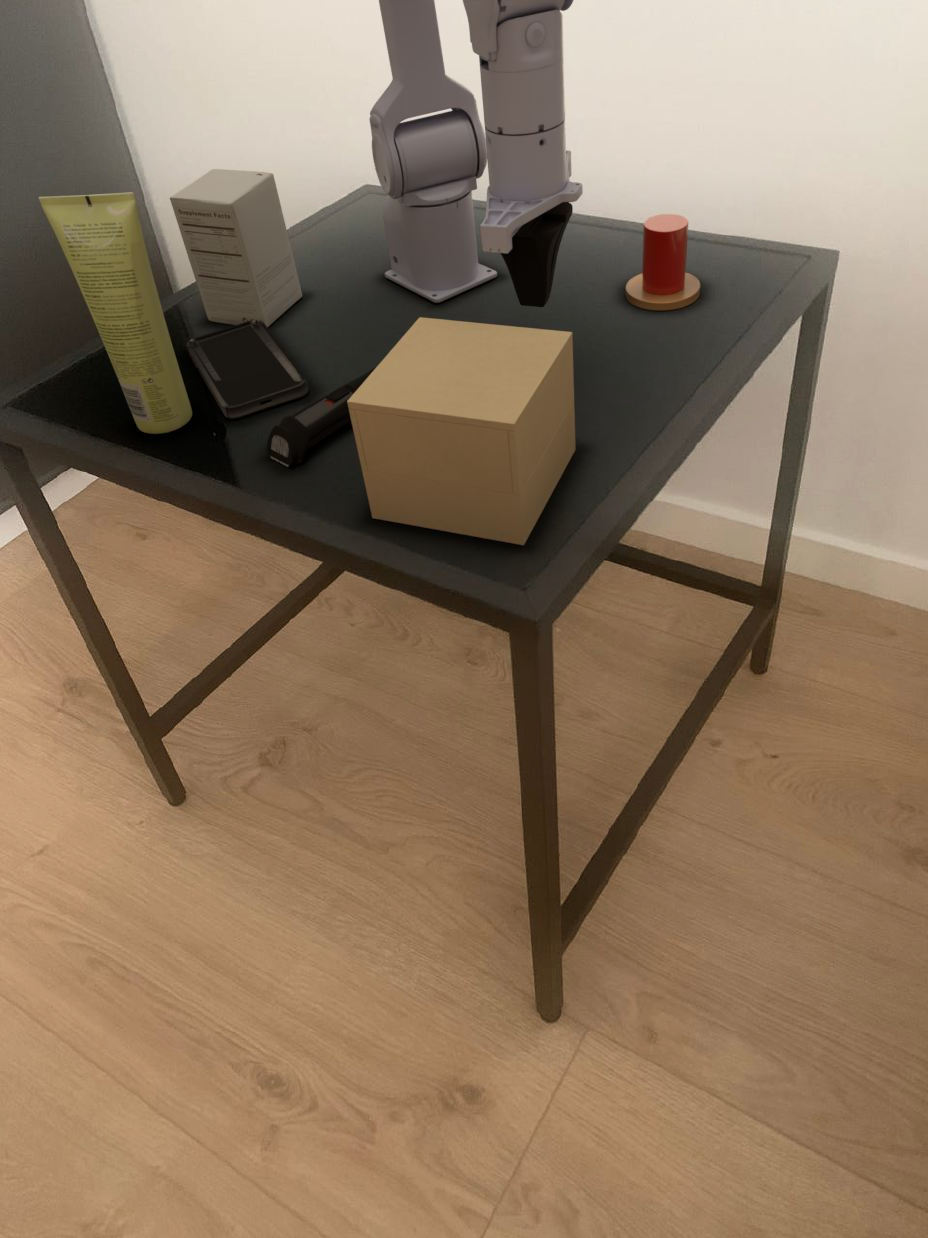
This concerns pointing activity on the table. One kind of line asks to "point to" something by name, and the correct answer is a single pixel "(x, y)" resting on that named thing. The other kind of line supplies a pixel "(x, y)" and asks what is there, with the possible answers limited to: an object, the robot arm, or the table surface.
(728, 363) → the table surface
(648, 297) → the cork coaster
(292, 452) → the electric trimmer
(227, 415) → the phone
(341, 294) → the table surface
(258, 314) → the white packaging box
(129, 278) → the tube
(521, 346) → the little tan box
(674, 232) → the red upright cylinder
